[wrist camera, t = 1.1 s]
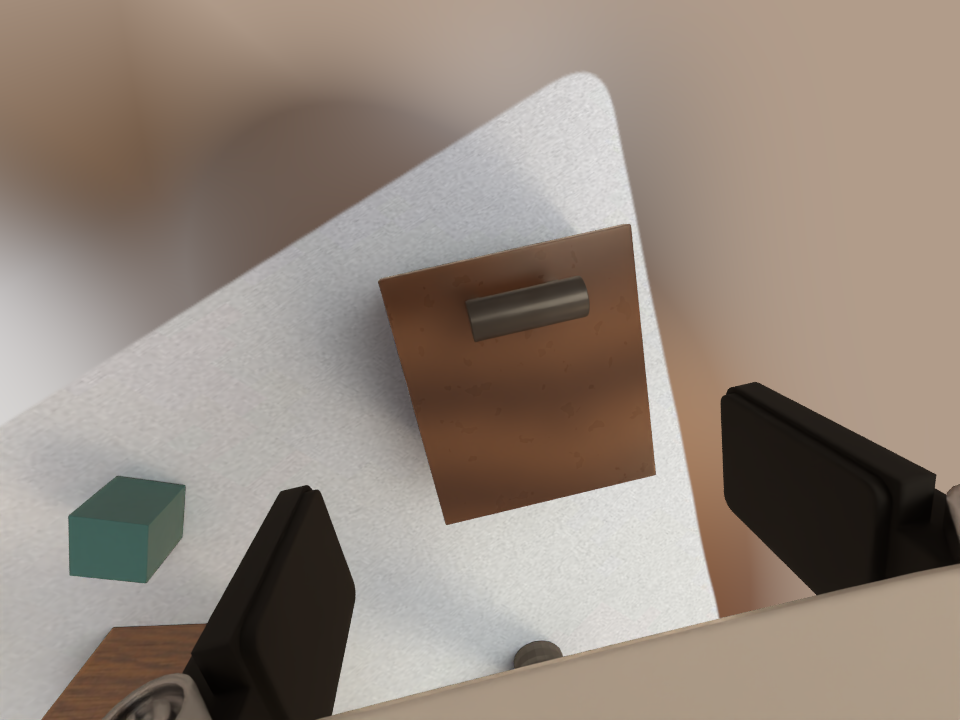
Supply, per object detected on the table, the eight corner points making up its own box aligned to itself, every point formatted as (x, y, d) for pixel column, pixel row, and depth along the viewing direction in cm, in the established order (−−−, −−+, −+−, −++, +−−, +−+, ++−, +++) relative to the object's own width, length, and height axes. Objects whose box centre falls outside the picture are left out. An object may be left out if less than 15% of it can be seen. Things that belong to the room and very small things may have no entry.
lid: (379, 278, 23) (365, 294, 18) (624, 223, 23) (674, 225, 18) (445, 517, 27) (448, 581, 22) (650, 468, 28) (695, 520, 23)
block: (116, 475, 33) (67, 515, 28) (185, 485, 33) (148, 525, 29) (116, 529, 34) (69, 575, 30) (182, 537, 35) (146, 583, 30)
